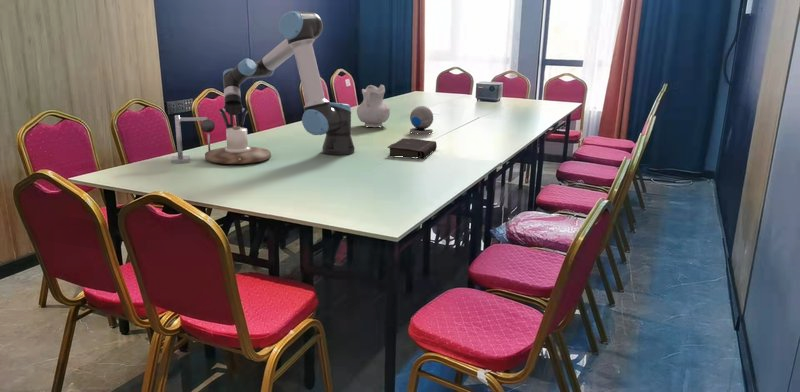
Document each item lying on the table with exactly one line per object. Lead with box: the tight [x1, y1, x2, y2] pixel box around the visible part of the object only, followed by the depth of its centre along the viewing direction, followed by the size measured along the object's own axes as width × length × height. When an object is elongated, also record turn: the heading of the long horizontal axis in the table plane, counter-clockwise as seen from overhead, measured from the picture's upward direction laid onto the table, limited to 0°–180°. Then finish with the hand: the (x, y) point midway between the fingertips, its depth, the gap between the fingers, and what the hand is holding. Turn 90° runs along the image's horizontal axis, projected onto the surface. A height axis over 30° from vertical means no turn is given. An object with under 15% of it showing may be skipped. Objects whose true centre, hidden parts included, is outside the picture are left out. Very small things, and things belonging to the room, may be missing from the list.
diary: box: [387, 137, 438, 160], centre depth 284 cm, size 19×25×5 cm
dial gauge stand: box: [171, 114, 216, 164], centre depth 255 cm, size 18×7×20 cm, turn 107°
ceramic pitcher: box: [356, 84, 391, 127], centre depth 348 cm, size 22×20×25 cm
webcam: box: [409, 105, 434, 135], centre depth 335 cm, size 13×13×15 cm
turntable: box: [204, 146, 272, 165], centre depth 262 cm, size 28×28×2 cm
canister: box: [224, 125, 251, 153], centre depth 265 cm, size 11×11×11 cm
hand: (235, 139), depth 271 cm, fingers closed
